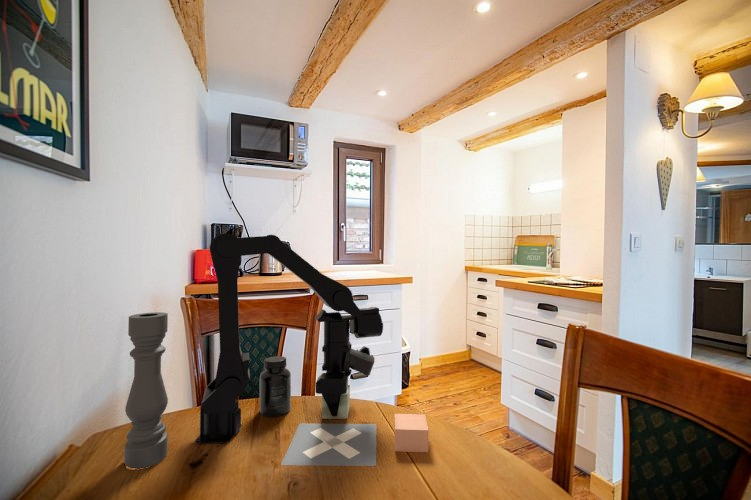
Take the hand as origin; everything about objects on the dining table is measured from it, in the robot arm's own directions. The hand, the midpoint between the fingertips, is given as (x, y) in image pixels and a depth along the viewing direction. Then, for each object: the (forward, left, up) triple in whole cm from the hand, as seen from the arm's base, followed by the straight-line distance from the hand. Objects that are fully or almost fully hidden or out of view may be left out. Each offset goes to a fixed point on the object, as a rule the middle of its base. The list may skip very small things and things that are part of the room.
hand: (336, 409), depth 75 cm
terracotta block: (+15, -12, -1) cm, 20 cm away
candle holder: (-31, -17, -1) cm, 35 cm away
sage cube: (0, 0, -1) cm, 1 cm away
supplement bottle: (-14, +1, -1) cm, 14 cm away
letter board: (+1, -12, -1) cm, 12 cm away
